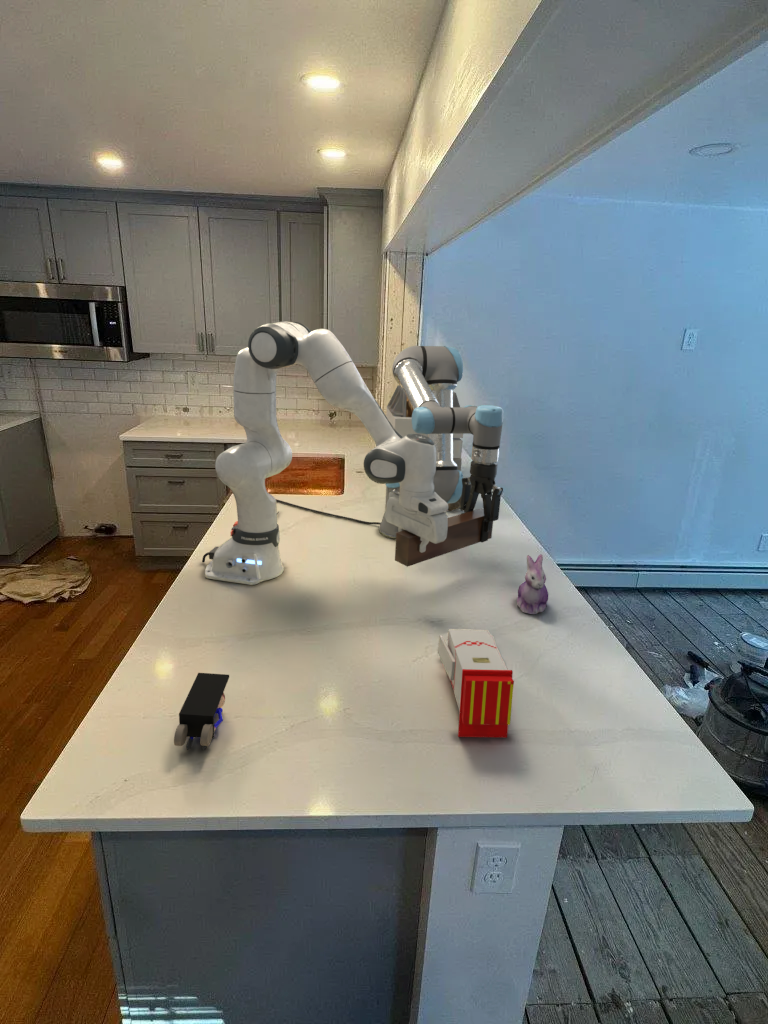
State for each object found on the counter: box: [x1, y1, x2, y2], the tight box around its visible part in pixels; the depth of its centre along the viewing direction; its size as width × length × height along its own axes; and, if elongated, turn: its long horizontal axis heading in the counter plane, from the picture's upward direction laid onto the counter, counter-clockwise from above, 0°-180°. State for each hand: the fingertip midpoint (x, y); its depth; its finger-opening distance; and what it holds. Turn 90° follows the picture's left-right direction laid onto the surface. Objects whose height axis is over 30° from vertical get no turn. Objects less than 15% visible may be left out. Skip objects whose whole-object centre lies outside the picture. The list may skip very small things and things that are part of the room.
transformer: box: [385, 384, 464, 472], centre depth 268 cm, size 34×33×41 cm
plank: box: [394, 507, 494, 568], centre depth 158 cm, size 5×34×8 cm, turn 131°
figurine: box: [516, 553, 549, 615], centre depth 151 cm, size 9×10×15 cm
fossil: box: [446, 485, 472, 512], centre depth 232 cm, size 22×10×15 cm
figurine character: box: [173, 672, 230, 751], centre depth 104 cm, size 7×8×15 cm
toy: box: [437, 628, 515, 738], centre depth 117 cm, size 12×13×30 cm
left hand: (413, 547), depth 150 cm, fingers closed on plank, 5 cm apart
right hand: (476, 537), depth 167 cm, fingers closed on plank, 5 cm apart
